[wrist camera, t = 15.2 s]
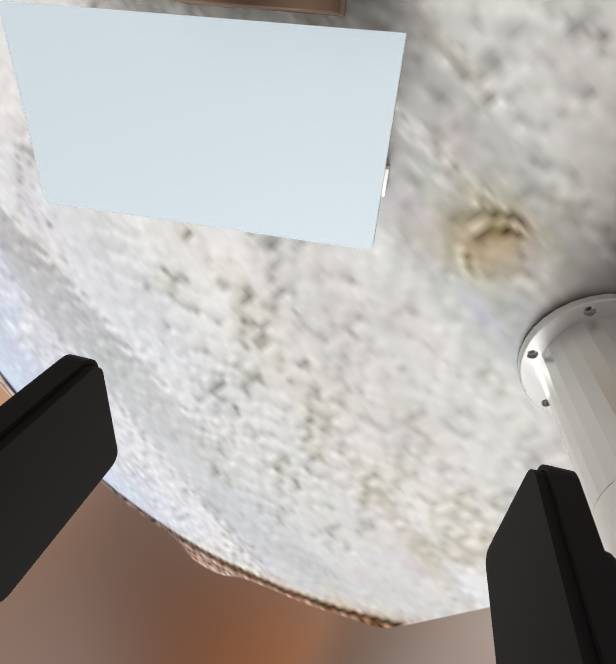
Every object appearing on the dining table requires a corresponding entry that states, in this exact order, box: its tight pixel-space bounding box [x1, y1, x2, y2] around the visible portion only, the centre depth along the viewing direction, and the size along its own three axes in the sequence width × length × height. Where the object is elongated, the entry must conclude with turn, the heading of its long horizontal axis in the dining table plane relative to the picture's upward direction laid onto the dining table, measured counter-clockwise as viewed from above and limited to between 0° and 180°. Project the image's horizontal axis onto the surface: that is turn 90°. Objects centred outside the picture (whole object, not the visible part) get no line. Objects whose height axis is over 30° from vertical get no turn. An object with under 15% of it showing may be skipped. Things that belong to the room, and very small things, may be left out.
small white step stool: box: [0, 0, 407, 250], centre depth 28 cm, size 20×10×12 cm, turn 86°
